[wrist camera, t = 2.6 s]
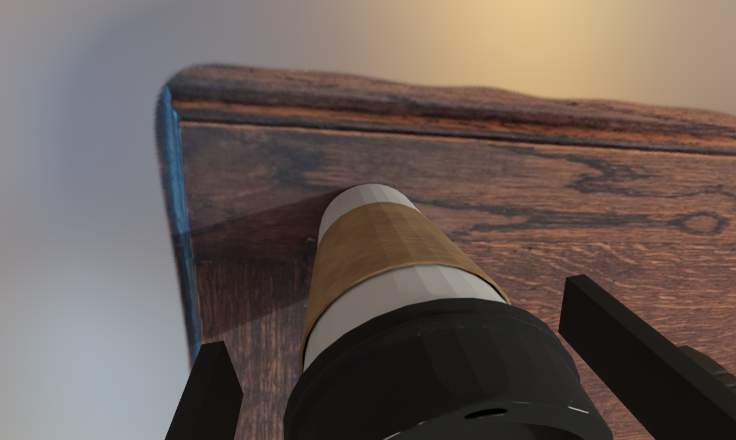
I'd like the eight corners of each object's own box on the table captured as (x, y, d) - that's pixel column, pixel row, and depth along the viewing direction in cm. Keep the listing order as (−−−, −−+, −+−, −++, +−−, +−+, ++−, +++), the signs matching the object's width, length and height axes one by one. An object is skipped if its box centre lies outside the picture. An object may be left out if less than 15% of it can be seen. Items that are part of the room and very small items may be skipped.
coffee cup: (440, 156, 20) (703, 358, 7) (433, 281, 24) (594, 577, 10) (289, 166, 19) (239, 427, 6) (305, 295, 23) (298, 644, 9)
